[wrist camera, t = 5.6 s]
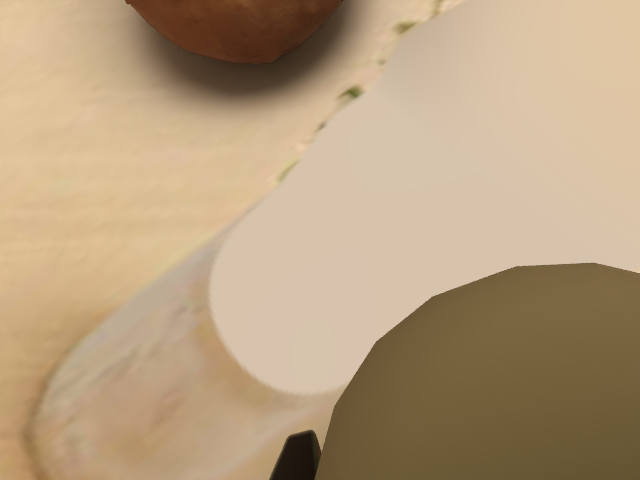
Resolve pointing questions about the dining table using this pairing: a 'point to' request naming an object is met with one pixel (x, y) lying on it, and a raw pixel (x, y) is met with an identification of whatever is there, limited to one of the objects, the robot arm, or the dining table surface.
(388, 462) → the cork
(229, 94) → the dining table surface
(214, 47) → the butternut squash
